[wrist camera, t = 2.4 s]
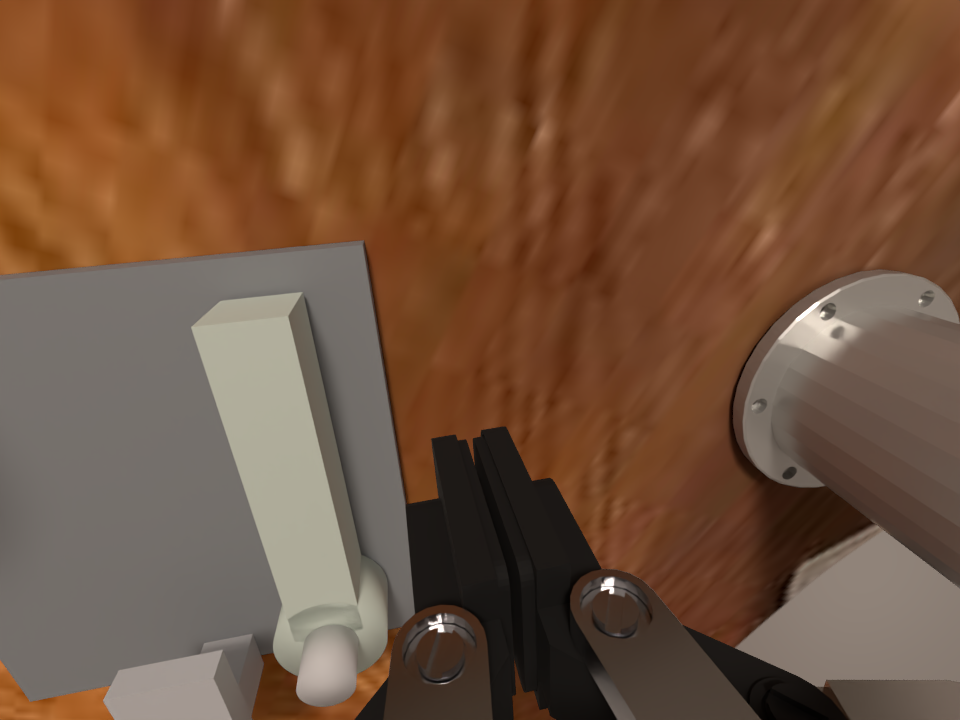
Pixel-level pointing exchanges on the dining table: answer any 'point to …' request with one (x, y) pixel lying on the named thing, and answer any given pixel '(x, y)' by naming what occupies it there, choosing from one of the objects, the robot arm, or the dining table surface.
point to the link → (295, 491)
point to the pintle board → (166, 478)
